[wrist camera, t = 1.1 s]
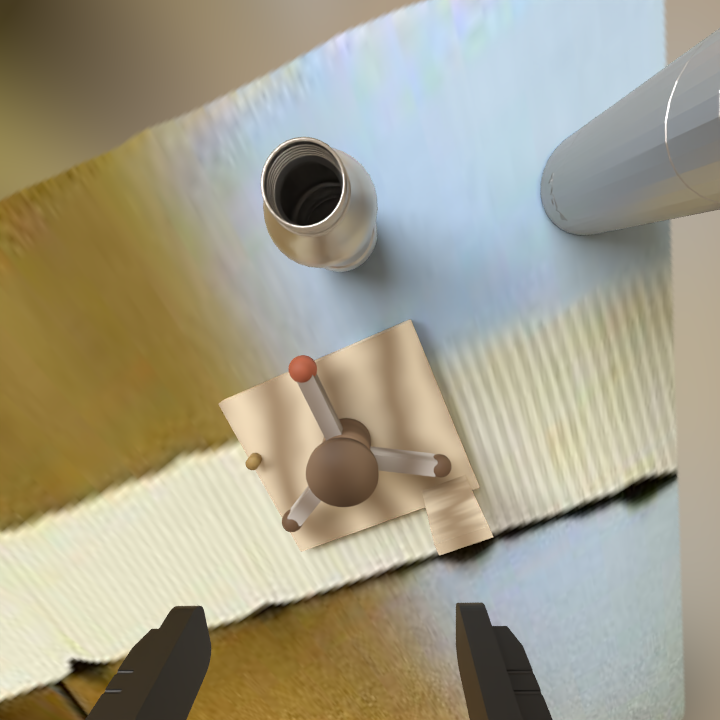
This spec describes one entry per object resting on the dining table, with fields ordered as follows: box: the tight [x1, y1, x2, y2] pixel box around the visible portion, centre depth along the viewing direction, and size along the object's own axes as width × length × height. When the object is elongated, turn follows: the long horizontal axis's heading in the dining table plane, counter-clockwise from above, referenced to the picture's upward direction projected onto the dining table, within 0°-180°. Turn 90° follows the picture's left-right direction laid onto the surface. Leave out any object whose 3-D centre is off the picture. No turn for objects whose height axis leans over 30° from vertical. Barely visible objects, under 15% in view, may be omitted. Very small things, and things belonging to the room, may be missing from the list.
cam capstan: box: [282, 355, 452, 532], centre depth 33 cm, size 18×16×7 cm
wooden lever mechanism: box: [219, 319, 493, 555], centre depth 34 cm, size 22×20×10 cm
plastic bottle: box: [261, 137, 378, 272], centre depth 24 cm, size 6×7×20 cm
